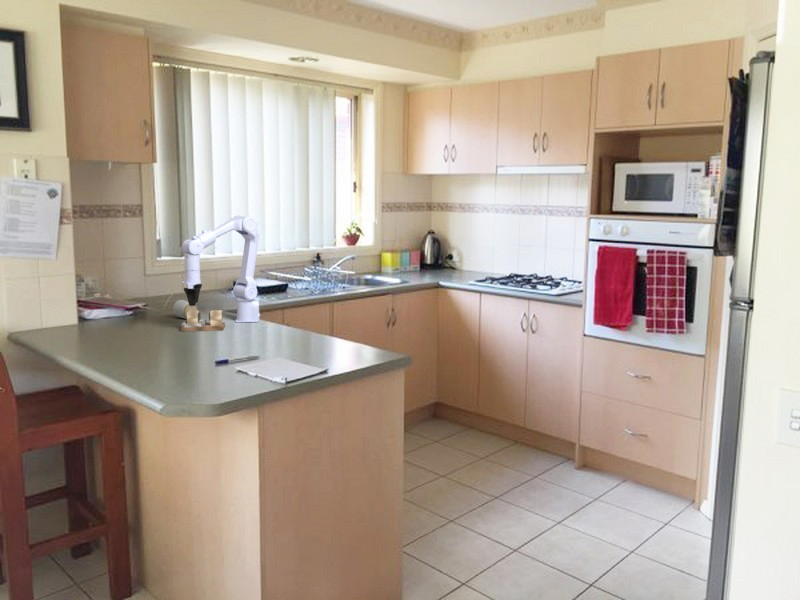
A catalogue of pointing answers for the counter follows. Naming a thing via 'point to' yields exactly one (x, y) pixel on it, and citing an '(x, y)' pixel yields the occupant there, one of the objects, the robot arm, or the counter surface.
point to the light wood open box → (215, 324)
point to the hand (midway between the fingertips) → (193, 304)
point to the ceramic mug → (182, 309)
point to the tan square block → (193, 317)
